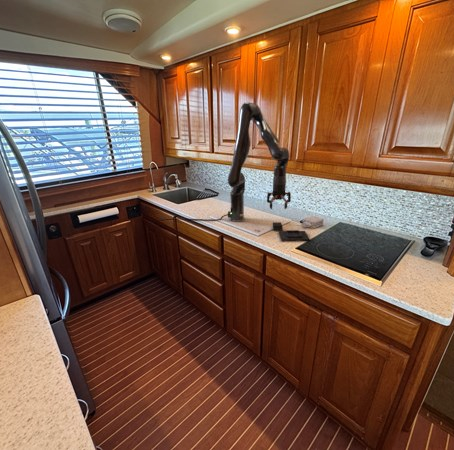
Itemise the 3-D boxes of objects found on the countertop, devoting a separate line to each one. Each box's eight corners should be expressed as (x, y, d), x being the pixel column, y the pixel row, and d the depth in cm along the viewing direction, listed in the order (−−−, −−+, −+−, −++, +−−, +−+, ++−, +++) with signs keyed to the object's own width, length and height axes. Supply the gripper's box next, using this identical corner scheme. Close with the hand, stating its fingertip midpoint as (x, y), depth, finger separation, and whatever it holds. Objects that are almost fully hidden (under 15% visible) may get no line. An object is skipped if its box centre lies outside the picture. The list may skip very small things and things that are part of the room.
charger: (297, 227, 155) (311, 221, 163) (308, 231, 148) (322, 225, 156) (297, 220, 153) (311, 215, 161) (309, 224, 146) (323, 218, 154)
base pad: (281, 241, 136) (281, 237, 135) (278, 232, 147) (278, 229, 146) (309, 241, 135) (310, 237, 134) (304, 232, 146) (304, 229, 146)
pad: (273, 230, 150) (273, 225, 149) (272, 227, 155) (272, 222, 154) (282, 230, 150) (282, 225, 149) (280, 227, 155) (281, 222, 154)
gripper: (290, 181, 144) (288, 206, 151) (266, 181, 145) (266, 207, 151) (292, 184, 137) (290, 210, 144) (268, 184, 138) (267, 210, 144)
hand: (278, 208), depth 147 cm, fingers open, 8 cm apart
